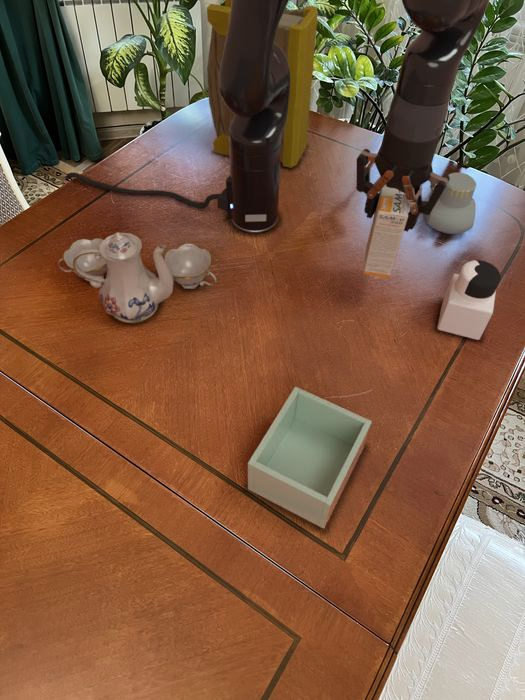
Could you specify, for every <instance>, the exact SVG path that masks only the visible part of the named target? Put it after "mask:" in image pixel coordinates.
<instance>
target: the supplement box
mask: <svg viewBox="0 0 525 700" xmlns="http://www.w3.org/2000/svg"><path fill="white" fill-rule="evenodd" d="M378 193H380V194H379V199H378V203H377V207H376V211H375V213H374V215H373V217H372V222H371V226H370V230H369V235H368V239H367V242H366V248H365V256H364V263H363V271H362V274H363V275H366V276H367V275H368V276H373V277H379V278H384V279H391V275H392V272H393V269H394V266H395V262H396V259H397V256H398V252H399V249H400V246H401V242H402V239H403V235H404V232H405V231H404V229H405V225H406V222H407V219H408V213H409V211H410V207H409V202H407V199H406V194H405V193H404V192H401V191H399V190H397V189H395V188H389V187H386V185H385V186H384V187H383V188H382V189H381V190H380V191H379V192H378Z"/></svg>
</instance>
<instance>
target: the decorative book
mask: <svg viewBox="0 0 525 700" xmlns="http://www.w3.org/2000/svg"><path fill="white" fill-rule="evenodd" d="M231 2H232V0H224V5H221V4H215V3H209V5H208V6H207V7H206V16H207V22H208V23H209V24H210V26H211V32H210V33H211V34H210V40H209V50H208V58H207V64H206V65H207V66H206V71H207V72H206V74H207V90H208V104H209V108H210V113H211V119H212V123H213V127H214V128H213V129H214V131H215V135H216V138H214V140H213V141H212V142H211V143H212V144H211V145H212V147H213V151H214V153H216V154H220V155H224V156H229V157H230V152H229V127H230V124H231V121H232V119H233V117H234V115H235V114H234V113H232V112H231V111H230V110H229V109H228V107H227V106H226V104H225V103H224V101H223V99H222V96H221V93H220V88H219V71H220V65H221V60H222V56H223V51H224V46H225V41H226V36H227V31H228V25H229V19H230V12H231ZM318 14H319V11H318V8H317V6H314V5H305V7H304V8H303V9H302V8H296V9H290V10H286V9H285V10H284V12H283V15H282V17H281V20H280V22H279V25H278V28H277V30H276V34H275V38H274V42H275V43H277V44H278V45H279V46H280V47H281V48H282V50H283V51H284V53H285V55H286V57H287V59H288V63H289V67H290V93H289V104H288V114H287V121H286V125H285V128H284V130H283V133H282V139H281V160H280V163H282V167H286V168H291V169H292V168H293V167H295V166H297V164H298V162H299V161H300V159H301V157H302V155H303V154H304V152H305V150H306V149H307V141H308V131H309V121H310V120H309V118H310V106H311V96H312V95H311V94H312V84H313V75H314V74H313V72H314V61H315V50H316V38H317V37H316V36H317V25H318V16H319V15H318Z"/></svg>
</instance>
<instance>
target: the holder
mask: <svg viewBox="0 0 525 700" xmlns="http://www.w3.org/2000/svg"><path fill="white" fill-rule="evenodd" d="M372 424H373V421H372V420H370V419H368V418H366V417H364V416H361V415H359V414H357V413H355V412H353V411H350V410H348V409H346V408H344V407H342V406H341V405H340V406H339V405H337V404H335V403H332V402H330V401H329V400H326V399H324V398H322V397H319V396H317V395H315V394H314V393H311V392H308V391H306V390H304V389H302V388H300V387H298V386H294V388H293V389H292V391H291V392H290V394H289V396H288V397H287V399H286V401H285V402H284V404H283V405H282V407H281V408H280V410H279V412H278V414H277V415H276V417H275V419H274V420H273V421H272V423H271V424H270V426H269V428H268V430H267V431H266V433H265V435H264V436H263V438H262V440H261V441H260V443H259V444H258V446H257V447H256V449H255V450H254V452H253V454H252V455H251V457H250V459H249V460H248V462H247V490H249V491H250V492H252V493H254V494H256V495H258V496H260V497H262V498H264V499H266V500H267V501H270V502H271V503H273V504H275V505H277V506H279V507H281V508H282V509H285V510H286V511H289V512H291V513H293V514H294V515H297V516H299V517H300V518H302V519H304V520H305V521H308V522H309V523H311V524H314V525H316V526H317V527H319V528H321V529H323V530H324V529H325V528H326V526H327V524H328V522H329V520H330V518H331V516H332V513H333V512H334V509H335V507H336V505H337V504H338V502H339V499H340V498H341V496H342V493H343V491H344V489H345V487H346V485H347V483H348V481H349V479H350V477H351V475H352V473H353V470H354V469H355V467H356V464H357V463H358V460H359V459H360V457H361V454H362V452H363V450H364V448H365V444H366V442H367V439H368V435H369V433H370V429H371V427H372Z"/></svg>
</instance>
